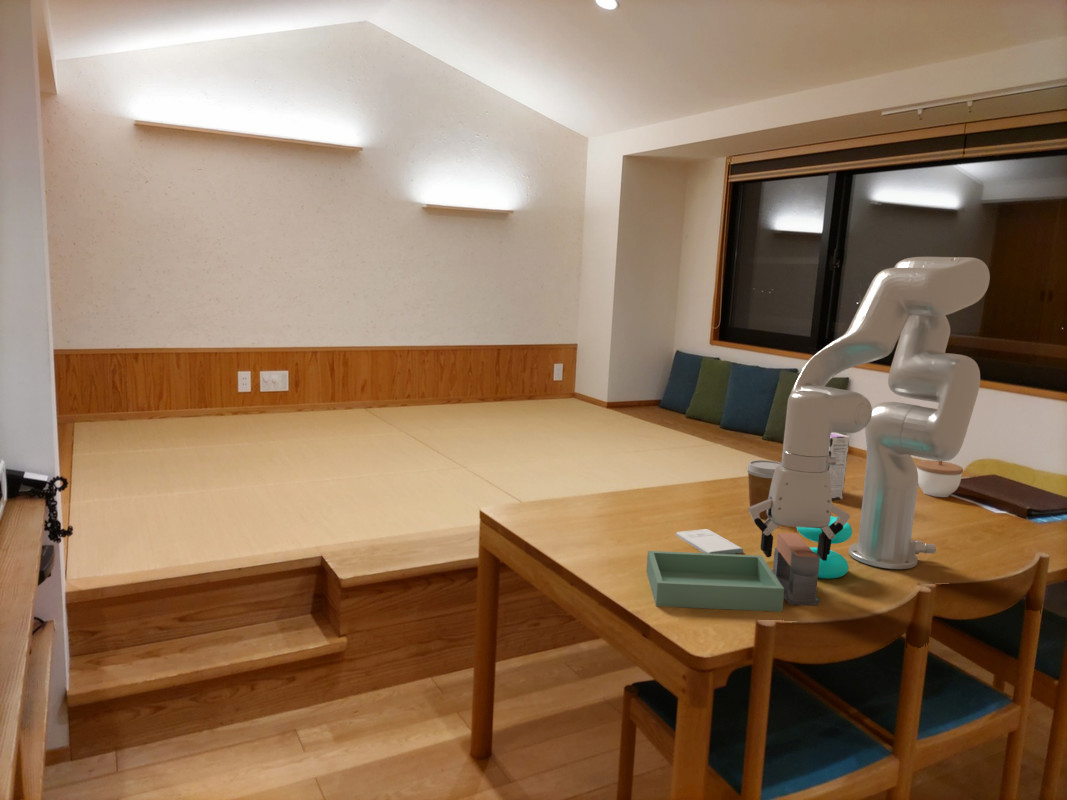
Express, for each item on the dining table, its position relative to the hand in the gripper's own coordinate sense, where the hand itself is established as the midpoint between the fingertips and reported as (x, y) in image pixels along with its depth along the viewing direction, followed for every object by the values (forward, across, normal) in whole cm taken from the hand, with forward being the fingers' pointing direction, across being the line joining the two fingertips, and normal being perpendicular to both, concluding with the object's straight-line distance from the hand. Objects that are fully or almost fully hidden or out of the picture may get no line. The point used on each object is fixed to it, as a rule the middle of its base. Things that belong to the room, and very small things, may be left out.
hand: (794, 556), depth 138 cm
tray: (+7, +14, +2) cm, 16 cm away
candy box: (+5, -26, -65) cm, 70 cm away
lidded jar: (+5, -58, -68) cm, 89 cm away
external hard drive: (+7, +10, -22) cm, 26 cm away
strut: (+1, 0, 0) cm, 1 cm away
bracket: (+6, 0, 0) cm, 6 cm away
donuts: (+6, -8, -10) cm, 15 cm away
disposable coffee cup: (+6, -6, -44) cm, 45 cm away
